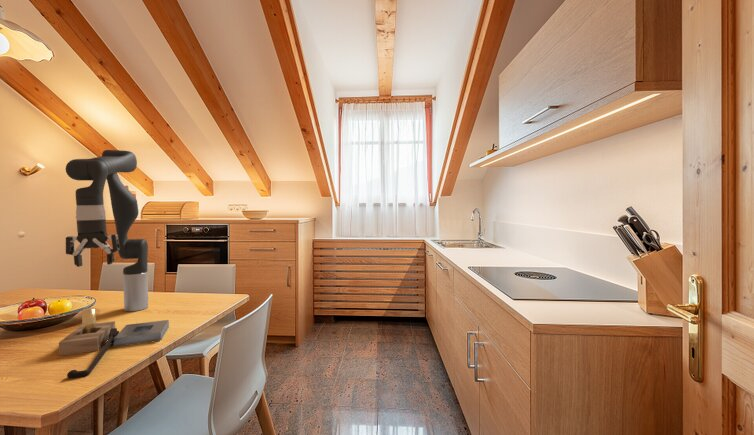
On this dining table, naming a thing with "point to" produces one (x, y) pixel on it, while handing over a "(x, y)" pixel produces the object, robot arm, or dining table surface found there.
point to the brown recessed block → (85, 339)
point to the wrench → (86, 372)
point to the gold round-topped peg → (88, 321)
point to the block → (141, 333)
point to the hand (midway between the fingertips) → (94, 265)
